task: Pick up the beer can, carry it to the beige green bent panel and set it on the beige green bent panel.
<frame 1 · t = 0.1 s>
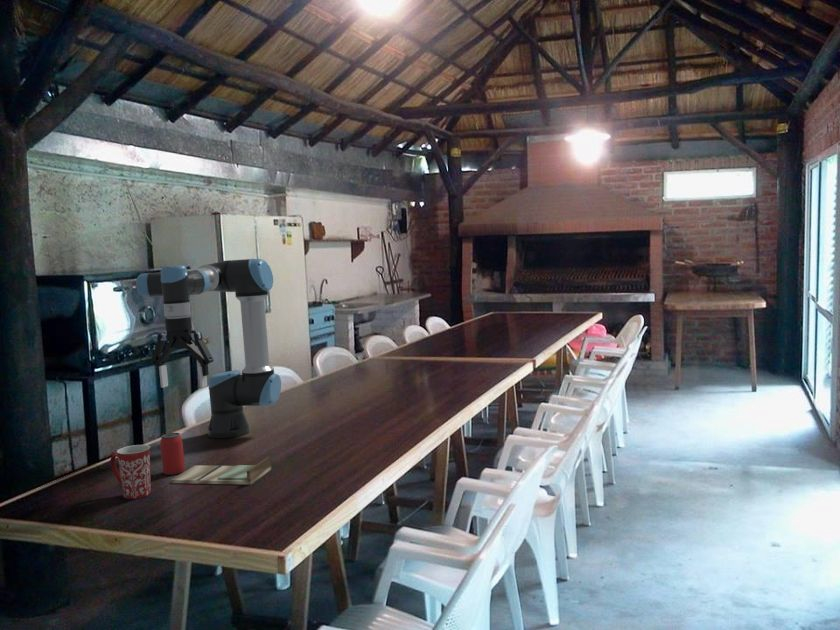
hand: (184, 386, 221), 28 cm above the table, fingers open, 13 cm apart
beer can: (174, 473, 229), on the table
beige green bent panel: (221, 476, 222), on the table
mug: (133, 495, 210), on the table
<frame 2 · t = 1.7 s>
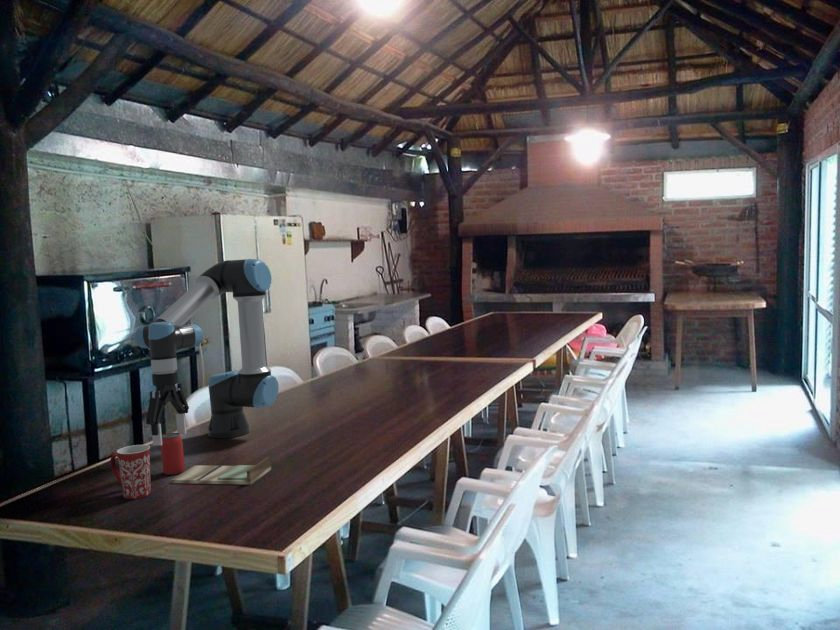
hand: (170, 439, 228), 11 cm above the table, fingers open, 13 cm apart
nothing on the table moved.
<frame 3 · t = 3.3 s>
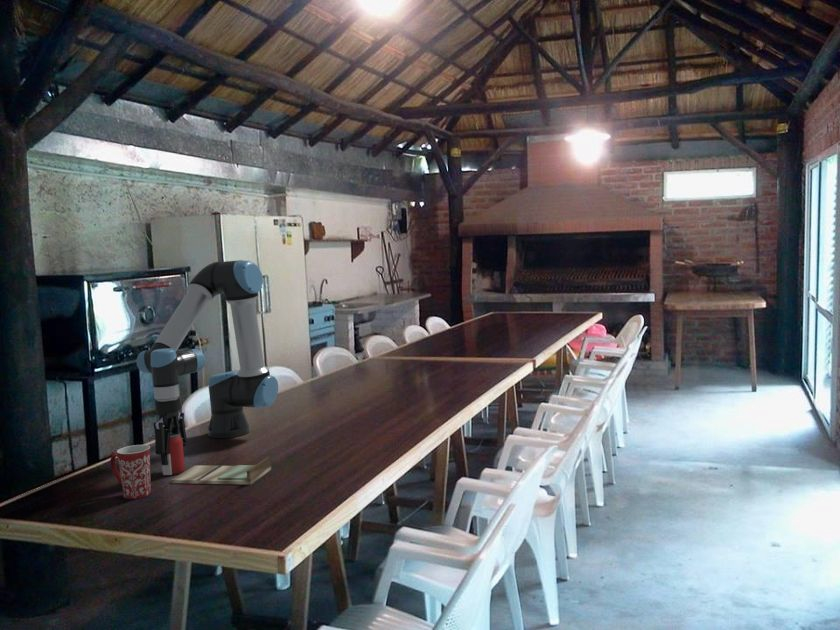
hand: (174, 470, 229), 0 cm above the table, fingers closed on beer can, 6 cm apart
beer can: (174, 472, 229), on the table, touching gripper
everything else where it was.
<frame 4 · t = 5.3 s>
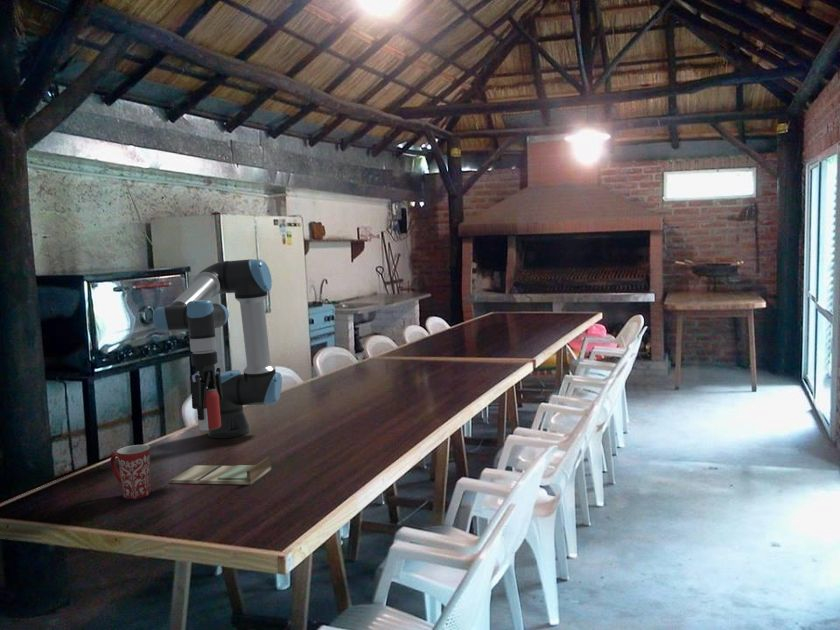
hand: (210, 426, 221), 15 cm above the table, fingers closed on beer can, 6 cm apart
beer can: (210, 429, 221), point 15 cm above the table, touching gripper
everything else where it was.
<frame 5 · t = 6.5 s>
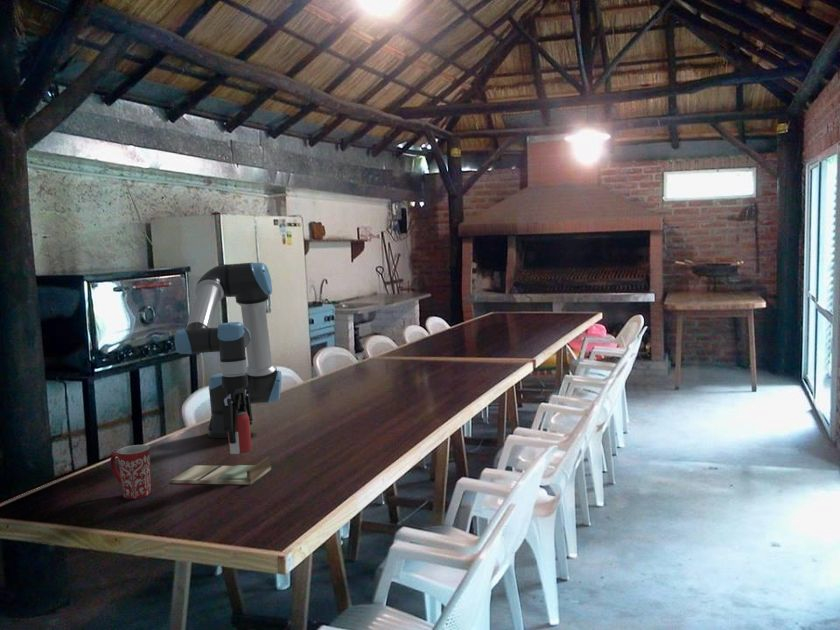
hand: (240, 449, 219), 8 cm above the table, fingers closed on beer can, 6 cm apart
beer can: (240, 452, 219), point 8 cm above the table, touching gripper
everything else where it was.
when the fingers open (4 cm above the table, at t = 7.4 s): beer can drops 2 cm, resting on beige green bent panel.
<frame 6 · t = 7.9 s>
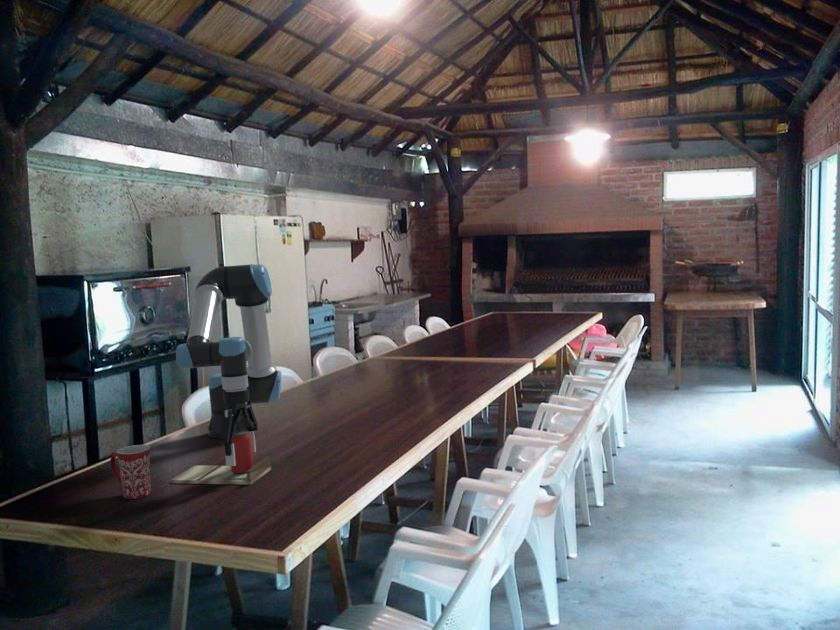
hand: (241, 458, 220), 5 cm above the table, fingers open, 13 cm apart
beer can: (242, 471, 220), point 1 cm above the table, touching beige green bent panel
everything else where it was.
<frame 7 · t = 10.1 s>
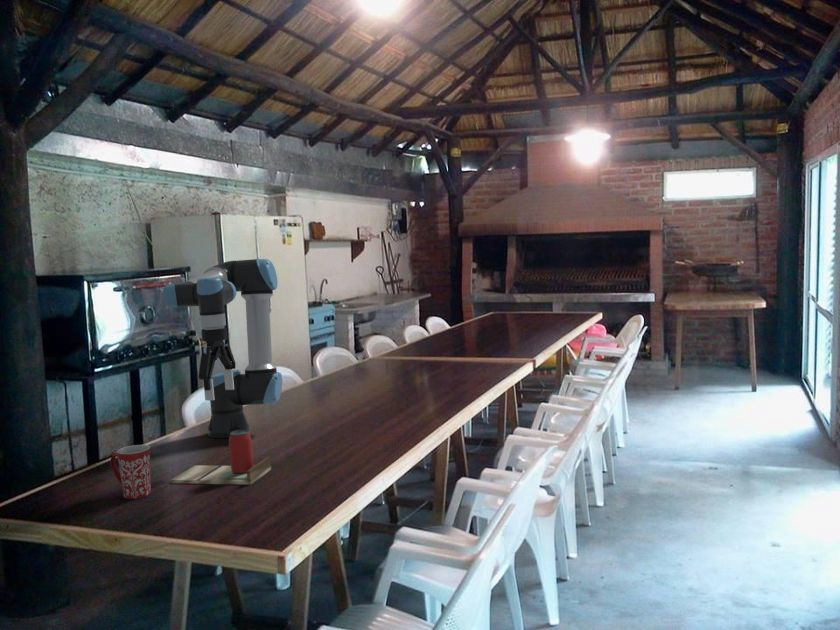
hand: (220, 394, 228), 23 cm above the table, fingers open, 13 cm apart
nothing on the table moved.
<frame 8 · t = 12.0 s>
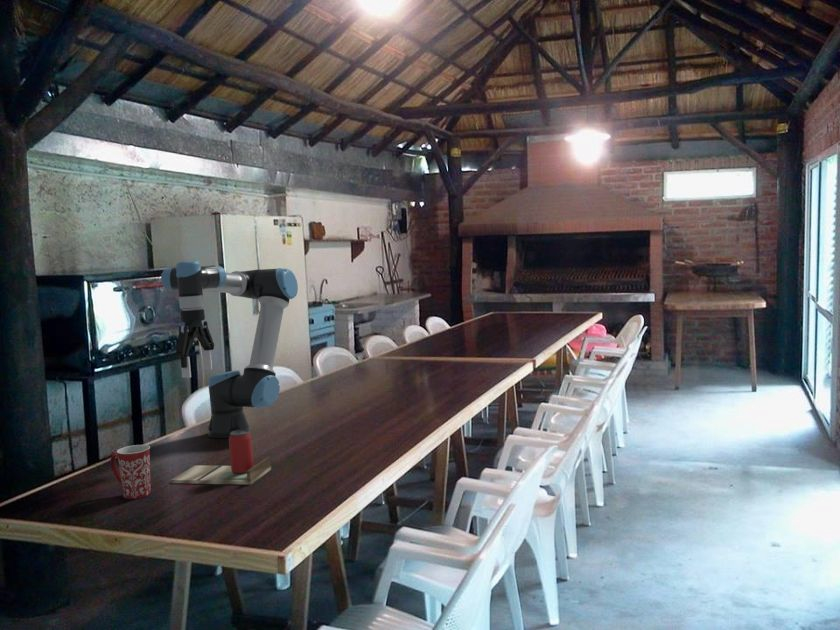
hand: (197, 373, 239), 29 cm above the table, fingers open, 13 cm apart
nothing on the table moved.
at the end: beer can inside the target area on the beige green bent panel (1.2 cm from its centre), point 1.4 cm above the beige green bent panel's base; beer can tilted 0°; the gripper is holding nothing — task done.
